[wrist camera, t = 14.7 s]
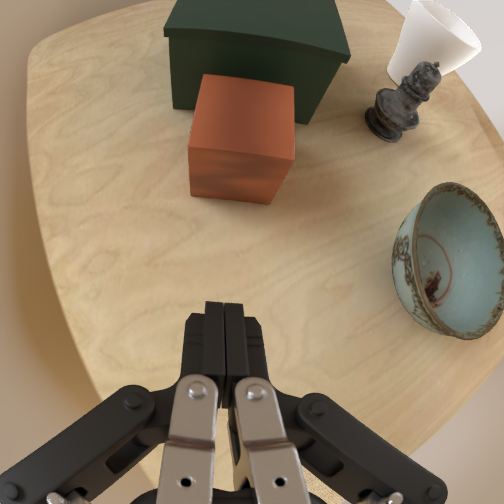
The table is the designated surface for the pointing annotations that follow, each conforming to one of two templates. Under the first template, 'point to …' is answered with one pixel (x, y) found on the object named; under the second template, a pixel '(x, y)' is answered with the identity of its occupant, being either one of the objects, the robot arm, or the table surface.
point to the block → (241, 139)
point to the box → (256, 46)
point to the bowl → (451, 263)
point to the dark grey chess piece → (402, 102)
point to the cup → (432, 40)
